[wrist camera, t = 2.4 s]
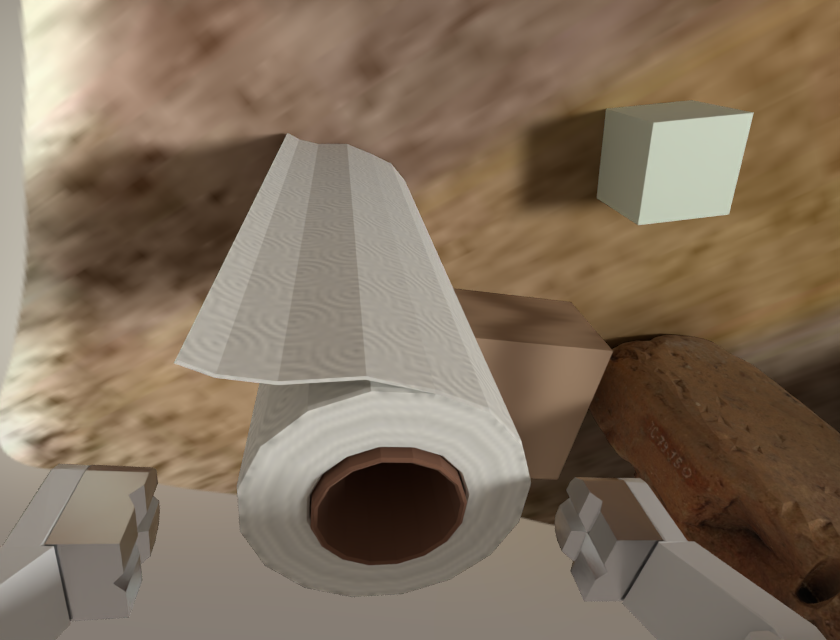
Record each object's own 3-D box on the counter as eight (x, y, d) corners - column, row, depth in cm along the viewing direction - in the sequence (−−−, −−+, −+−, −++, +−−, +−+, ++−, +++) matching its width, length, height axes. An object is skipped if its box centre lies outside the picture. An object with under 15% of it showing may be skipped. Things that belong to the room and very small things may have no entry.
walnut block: (571, 302, 34) (613, 351, 29) (528, 419, 38) (557, 479, 33) (424, 285, 32) (441, 334, 27) (397, 411, 36) (408, 474, 31)
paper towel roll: (413, 248, 30) (530, 581, 12) (312, 260, 30) (270, 628, 12) (403, 120, 27) (546, 316, 8) (286, 132, 26) (168, 368, 8)
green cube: (691, 100, 29) (753, 112, 24) (674, 188, 31) (728, 214, 27) (605, 108, 28) (653, 122, 24) (595, 197, 31) (638, 225, 26)
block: (732, 335, 37) (1070, 598, 20) (688, 416, 41) (944, 698, 24) (598, 322, 35) (851, 604, 18) (564, 408, 38) (747, 713, 21)
